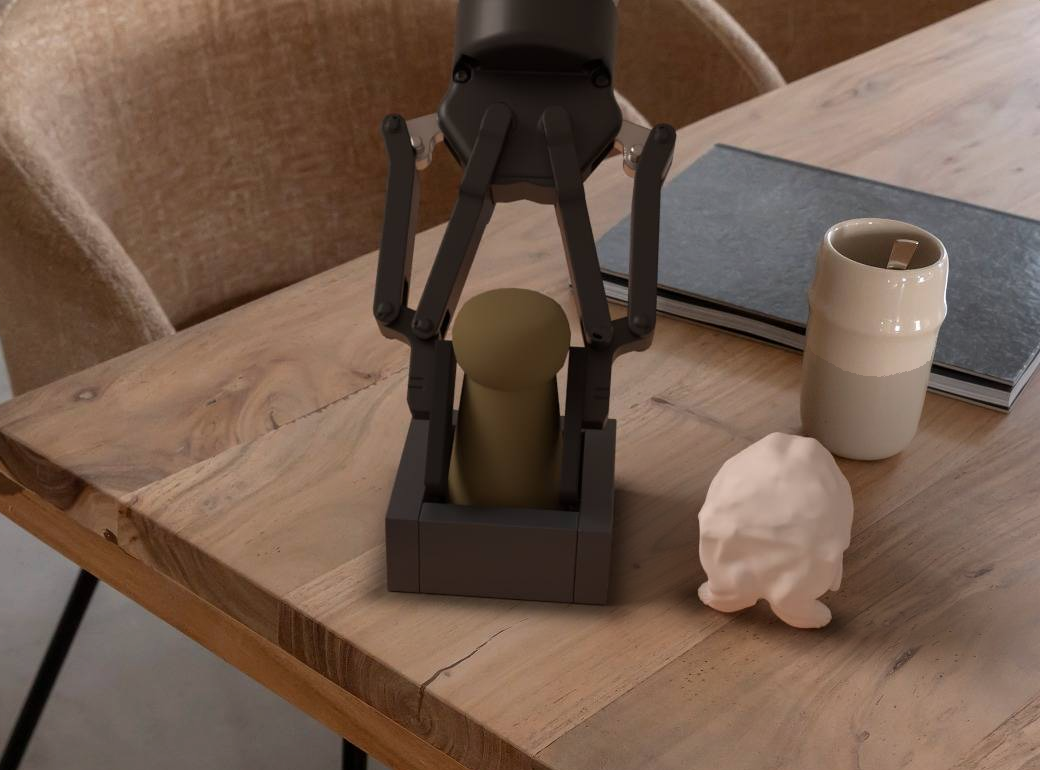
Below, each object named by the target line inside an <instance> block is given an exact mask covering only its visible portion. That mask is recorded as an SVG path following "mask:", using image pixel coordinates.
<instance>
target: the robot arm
mask: <svg viewBox="0 0 1040 770" xmlns="http://www.w3.org/2000/svg"><path fill="white" fill-rule="evenodd" d="M619 2H620V0H458V2H457V5H456V11H455V23H454V35H453V47H452V58H451V59H452V60H451V71H450V81H449V86H448V88H447V91H446V92H445V94H444V96H443V97H442V99H441V100H440V101H439V103H438V105H437V108H436V112H433V113H430V114H426V115H421V116H419V117H415V118H412V119H411V118H410V119H407V120H405V118H404V117H403V116H402V115H401V114H399V113H389V114H387V115H385V116H384V117H383V118H382V119H381V120H380V121H381V122H380V124H379V126H380V133H381V136H382V141H383V145H384V148H385V153H386V157H387V160H388V170H387V177H386V187H385V197H384V206H383V213H382V214H383V216H382V224H381V230H380V231H381V233H380V241H379V248H378V260H377V268H376V275H375V276H376V278H375V286H374V293H373V294H374V295H373V303H372V313H373V316H374V319H375V321H376V325H377V327H378V330H379V332H380V334H381V335H382V336H383V337H384V338H385V339H387V340H397V341H399V342H401V343H404V344H406V345H407V346H408V347H409V348H410V354H409V355H410V357H409V367H408V379H407V389H406V403H407V406H408V409H409V412H410V415H411V418H412V417H413V419H414V420H429V429H428V441H427V453H426V465H425V477H424V485H425V487H426V489H427V492H428V494H429V496H430V497H440V498H444V499H445V498H446V493H447V481H448V468H449V456H450V443H451V431H452V419H453V410H454V405H455V394H456V393H455V391H456V381H457V380H456V379H457V370H458V369H457V368H458V367H457V366H458V363H457V360H456V356H455V352H454V348H453V344H452V339H451V340H449V339H446V337H447V334H448V332H449V329H450V326H451V323H452V320H453V318H454V316H455V313H456V309H457V306H458V304H459V301H460V299H461V296H462V293H463V291H464V289H465V286H466V282H467V280H468V277H469V274H470V271H471V269H472V266H473V263H474V260H475V257H476V255H477V252H478V250H479V247H480V243H481V241H482V238H483V237H484V236H483V235H484V233H485V230H486V228H487V225H489V223H490V222H491V219H492V217H493V213H494V211H495V209H496V206H497V203H498V204H499V203H500V204H508V203H509V204H510V203H514V202H519V201H523V200H525V201H528V202H533V203H535V204H539V205H545V206H546V205H547V206H553V207H554V213H555V218H556V221H557V226H558V228H559V232H560V237H561V242H562V246H563V252H564V256H565V261H566V266H567V271H568V276H569V280H570V284H571V289H572V295H573V298H574V304H575V309H576V313H577V319H578V323H579V328H580V333H581V338H582V342H583V343H582V344H583V346H572V345H570V347H569V351H568V360H567V361H568V362H567V374H566V375H567V376H566V389H565V390H566V391H565V404H564V416H565V417H564V432H563V446H562V461H561V475H560V490H559V497H560V505H569V506H575V507H576V506H577V502H578V501H577V489H578V474H579V459H580V444H581V429H592V430H603V429H604V427H605V425H606V423H607V421H608V419H609V415H610V414H609V413H610V402H611V401H610V400H611V385H612V370H613V364H614V362H615V361H616V360H617V359H618V358H619V357H621V356H622V355H625V354H628V353H632V352H636V353H640V352H641V353H643V352H646V351H647V350H649V349H650V348H651V346H652V345H653V341H654V336H655V330H656V326H657V325H656V324H657V310H658V309H657V307H658V306H657V305H658V279H659V251H660V226H661V224H660V222H661V199H662V198H661V197H662V188H663V186H664V183H665V181H666V179H667V176H668V174H669V172H670V170H671V167H672V165H673V159H674V154H675V150H676V142H677V136H678V135H677V131H676V130H675V128H674V126H672V125H670V124H669V123H664V122H662V123H658V124H656V125H655V126H653V127H652V128H649V127H645V126H643V125H641V124H636V123H634V122H632V121H629V120H626V119H624V118H623V111H622V109H621V107H620V104H619V103H618V101H617V99H616V96H615V76H616V64H617V63H616V61H617V46H618V32H619V31H618V30H619V11H618V8H617V6H618V5H619ZM441 142H443V143H444V145H445V146H446V147H447V149H448V151H449V152H450V153H451V155H452V156H453V158H454V160H455V161H456V162H457V164H458V166H459V167H460V169H461V170H462V172H463V175H462V178H461V181H460V185H459V189H458V194H457V199H456V201H455V204H454V206H453V209H452V212H451V215H450V217H449V220H448V223H447V226H446V229H445V231H444V234H443V236H442V239H441V242H440V244H439V246H438V251H437V253H436V256H435V258H434V260H433V264H432V267H431V269H430V272H429V275H428V276H427V277H428V278H427V280H426V283H425V285H424V287H423V288H424V289H423V290H422V294H421V296H420V299H419V302H418V305H417V307H416V310H415V309H413V308H411V307H408V306H409V299H410V290H411V289H410V288H411V279H412V271H413V263H414V262H413V261H414V251H415V243H416V234H417V224H418V216H419V215H418V214H419V206H420V199H421V198H420V195H421V182H420V174H419V171H423V170H425V169H426V168H427V167H428V166H430V164H431V163H432V160H433V151H434V148H435V147H436V145H438V143H441ZM614 149H617V150H618V151H619V152H620V153H621V155H622V158H623V160H622V170H623V173H624V174H625V175H626V176H627V177H629V178H631V179H633V187H632V195H631V196H632V197H631V208H630V209H631V210H630V230H629V233H630V235H629V257H628V260H629V261H628V282H627V283H628V286H627V308H626V316H623V317H619V318H617V319H613V320H612V318H611V317H612V316H611V312H610V307H609V304H608V298H607V294H606V289H605V285H604V280H603V276H602V271H601V266H600V262H599V257H598V251H597V246H596V242H595V238H594V233H593V227H592V223H591V219H590V214H589V209H588V205H587V198H586V190H585V185H584V183H585V182H586V181H587V180H588V179H589V178H590V176H591V175H592V174H593V173H594V172H595V171H596V170H597V169H598V167H599V166H600V165H601V164H602V163H603V162H604V160H605V159H606V158H607V156H608V155H610V153H612V151H613V150H614Z"/></svg>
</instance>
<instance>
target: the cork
mask: <svg viewBox="0 0 1040 770" xmlns="http://www.w3.org/2000/svg"><path fill="white" fill-rule="evenodd" d="M451 340H452V344H453V348H454V352H455V356H456V360H457V366H459V367H460V368H461V370H462V371H463V378H462V384H461V391H460V397H459V404H458V409H457V410H458V416H457V423H456V429H455V436H454V442H453V449H452V455H451V462H450V469H449V475H448V482H447V493H446V498H444V503H443V504H457V505H473V506H489V507H505V508H522V509H538V510H554V511H570V505H560V497H559V490H560V475H561V461H562V446H563V438H562V428H561V417H560V416H561V408H560V406H561V405H560V397H559V385H558V375H557V374H559V372H560V371H561V370H562V369H563V367H564V366H565V363H566V360H567V357H568V355H569V347H570V346H571V343H572V342H571V340H572V331H571V327H570V322H569V319H568V316H567V313H566V312H565V311H564V309H563V307H562V306H561V304H560V303H558V302H557V301H556V300H555V299H554V298H552V297H550V296H548V295H546V294H544V293H542V292H539V291H536V290H532V289H528V288H521V287H520V288H519V287H502V288H501V287H500V288H495V289H490V290H486V291H484V292H481V293H479V294H476V295H473V296H472V297H470V298H469V299H468V300H467V301H465V302H464V303H463V304H462V305H461V308H460V309H459V311H458V313H457V314H456V317H455V319H454V322H453V326H452V329H451Z"/></svg>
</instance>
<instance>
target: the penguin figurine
mask: <svg viewBox="0 0 1040 770" xmlns="http://www.w3.org/2000/svg"><path fill="white" fill-rule="evenodd" d="M704 500H705V501H704V503H703V505H702V506H701V508H700V511H699V512H698V514H697V519H698V522H699V523H698V524H699V546H698V553H699V554H698V555H699V561H700V565H701V567H702V569H703V571H704V572H705V574H706V576H707V579H708V580H707V581H704V582H702V584H701V585H700V586H699V587H698V589H697V595H698V597H699V600H700V601H701V602H702V603H703V604H704V605H706V606H709V607H710V608H711V609H713V610H716V611H719V612H723V613H734V612H738V611H741V610H744V609H746V608H750V607H754V606H755V605H757V602H758V600H759V599H763V600H766V601H767V602H768V603H769V605H770V610H771V611H772V612H773V614H774V615H776V616H777V617H778V618H779V619H780V620H781V621H783V623H785V624H787V625H789V626H791V627H794V628H799V629H820V628H822V627H826V626H827V625H828V624H829V623H830V622H831V620H832V619H833V618H832V613H831V610H830V608H829V607H828V606H827V605H826V604H825V603H823V602H821V600H818V598H820V597H821V596H822V595H824V594H826V592H828V590H829V591H831V592H837V591H839V590H840V588H841V583H842V579H843V567H844V566H843V560H844V559H843V558H844V551H845V550H847V549H849V547H850V544H851V531H852V525H853V520H854V512H855V511H854V508H855V507H854V499H853V494H852V489H851V485H850V483H849V481H848V479H847V478H846V476H845V475H844V473H842V471H841V469H840V467H839V466H838V464H837V463H836V460H835V458H834V456H833V454H832V453H831V452H830V451H829V450H828V449H827V448H826V447H825V446H823V444H822V443H821V442H820V441H819V440H817V439H816V438H813V437H805V436H801V435H798V434H788V433H784V432H781V431H776V432H771V433H769V434H768V435H765V436H764V437H763V438H761V439H759V440H758V441H756V442H754V443H752V444H751V445H749V446H747V447H746V448H745V449H743V450H741V451H739V452H738V453H736V454H735V455H734V456H731V457H730V458H728V459H727V460H726V461H725V462H724V464H722V466H721V467H720V469H719V470H718V472H717V473H716V474H715V476H714V477H713V479H712V481H711V483H710V485H709V488H708V490H707V492H706V496H705V499H704Z"/></svg>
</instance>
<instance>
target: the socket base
mask: <svg viewBox="0 0 1040 770" xmlns="http://www.w3.org/2000/svg"><path fill="white" fill-rule="evenodd" d="M458 410H459V409H453V419H452V431H451V443H450V456H449V468H448V475H449V469H450V462H451V455H452V449H453V442H454V436H455V429H456V423H457V416H458ZM560 417H561V428H562V438H563V432H564V417H565V415H560ZM617 422H618V421H617V419H616V418H608V421H607V423H606V425H605V427H604V429H603V430H592V429H581V444H580V459H579V474H578V489H577V502H579V508H578V511H571V510H569V511H554V510H538V509H522V508H505V507H489V506H473V505H457V504H444V503H441V502H440V500H441V499H440V498H441V497H430V496H429V494H428V492H427V489H426V487H425V485H424V477H425V465H426V453H427V441H428V429H429V420H414V419H413V417H412V416H411V417H410V421H409V427H408V430H407V434H406V438H405V441H404V444H403V449H402V452H401V457H400V460H399V464H398V467H397V470H396V471H397V472H396V474H395V479H394V482H393V486H392V490H391V494H390V498H389V501H388V505H387V509H386V513H385V516H384V532H385V535H384V536H385V567H386V569H385V570H386V590H387V591H390V592H404V593H423V594H425V593H426V594H437V595H450V596H451V595H452V596H469V597H481V598H496V599H511V600H527V601H540V602H554V603H555V602H557V603H572V604H573V603H574V604H587V605H603V606H604V605H605V606H606V605H607V602H608V591H609V590H608V589H609V578H610V565H611V552H612V541H613V524H614V502H615V501H614V500H615V499H614V497H615V478H616V477H615V476H616V475H615V474H616V448H617V425H618V423H617ZM447 482H448V481H447ZM439 502H440V503H439Z"/></svg>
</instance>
